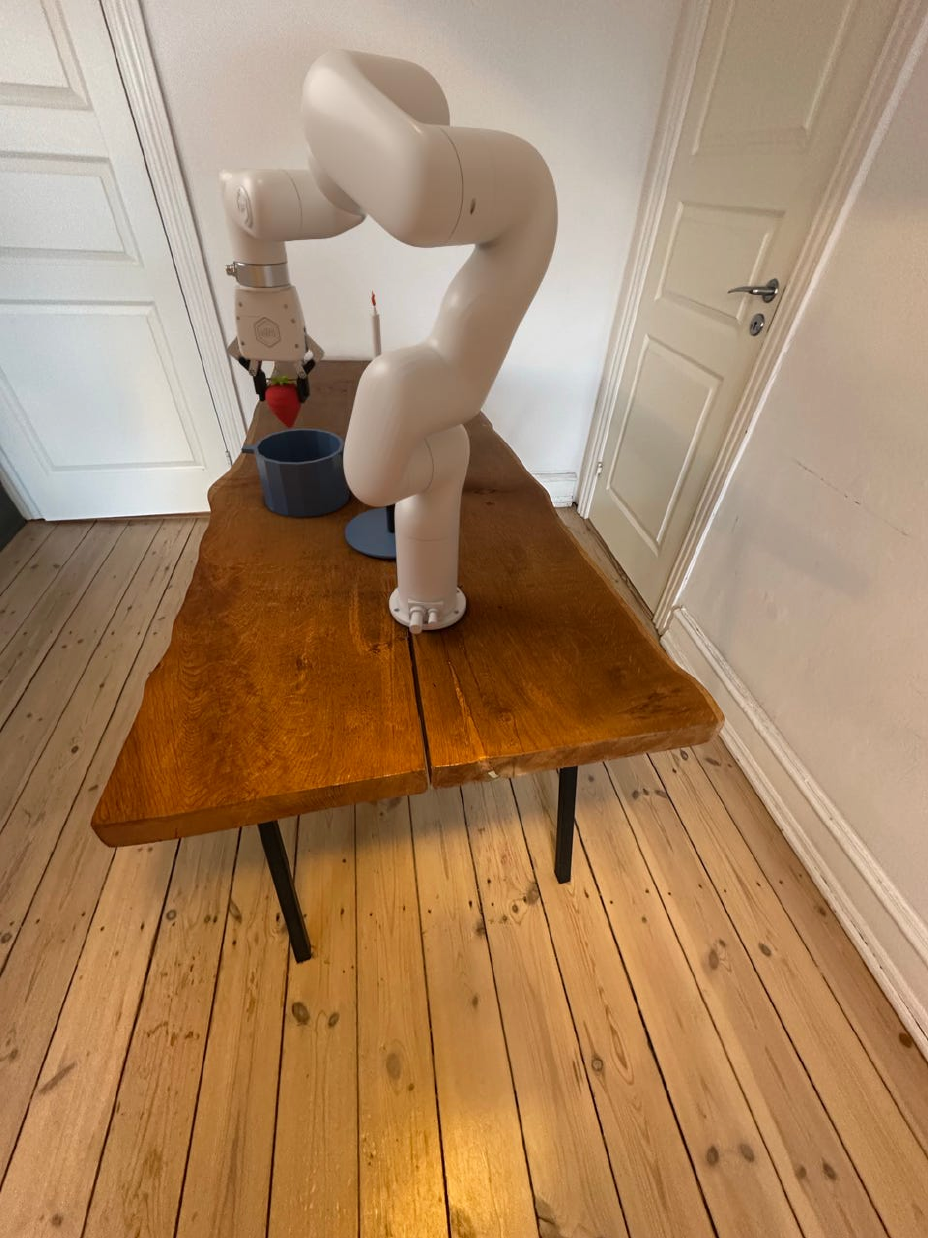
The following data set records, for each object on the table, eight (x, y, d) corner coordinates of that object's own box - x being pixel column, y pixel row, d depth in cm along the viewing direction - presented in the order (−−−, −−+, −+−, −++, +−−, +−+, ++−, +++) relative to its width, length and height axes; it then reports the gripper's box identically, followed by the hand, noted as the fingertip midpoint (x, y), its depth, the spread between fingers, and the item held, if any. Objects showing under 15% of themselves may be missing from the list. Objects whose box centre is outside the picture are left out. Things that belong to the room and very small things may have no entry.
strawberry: (267, 436, 93) (255, 374, 86) (275, 419, 99) (264, 360, 92) (303, 436, 93) (293, 374, 87) (309, 419, 99) (300, 360, 93)
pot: (354, 519, 111) (349, 466, 104) (241, 515, 111) (227, 461, 103) (367, 480, 125) (363, 430, 117) (265, 476, 124) (255, 426, 117)
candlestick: (393, 462, 133) (385, 297, 110) (353, 454, 135) (337, 291, 113) (411, 445, 141) (407, 288, 118) (373, 438, 143) (362, 283, 121)
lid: (439, 563, 100) (439, 529, 96) (337, 559, 100) (332, 525, 96) (442, 512, 115) (443, 481, 110) (354, 509, 114) (350, 477, 110)
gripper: (195, 277, 78) (225, 405, 90) (316, 283, 79) (331, 409, 90) (213, 268, 84) (239, 390, 95) (326, 274, 84) (339, 394, 96)
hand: (284, 398), depth 93 cm, fingers closed on strawberry, 5 cm apart
